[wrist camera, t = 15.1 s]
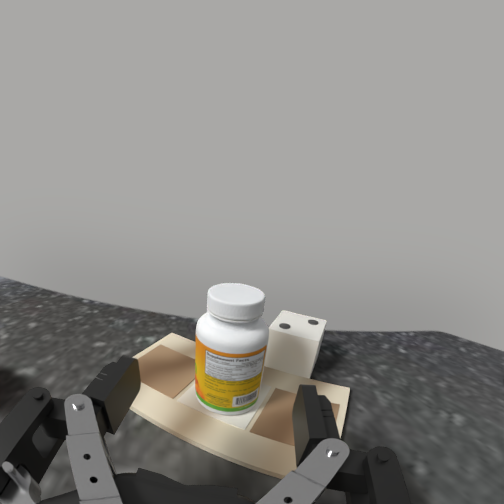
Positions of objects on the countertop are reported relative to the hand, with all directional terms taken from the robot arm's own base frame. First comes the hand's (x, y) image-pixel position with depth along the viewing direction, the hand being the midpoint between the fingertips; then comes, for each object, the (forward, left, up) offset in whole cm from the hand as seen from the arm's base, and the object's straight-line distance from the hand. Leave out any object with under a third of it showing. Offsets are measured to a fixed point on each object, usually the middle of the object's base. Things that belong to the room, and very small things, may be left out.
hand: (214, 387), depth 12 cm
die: (-1, -16, -8) cm, 18 cm away
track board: (+3, -7, -8) cm, 11 cm away
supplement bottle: (+2, -7, -8) cm, 11 cm away
